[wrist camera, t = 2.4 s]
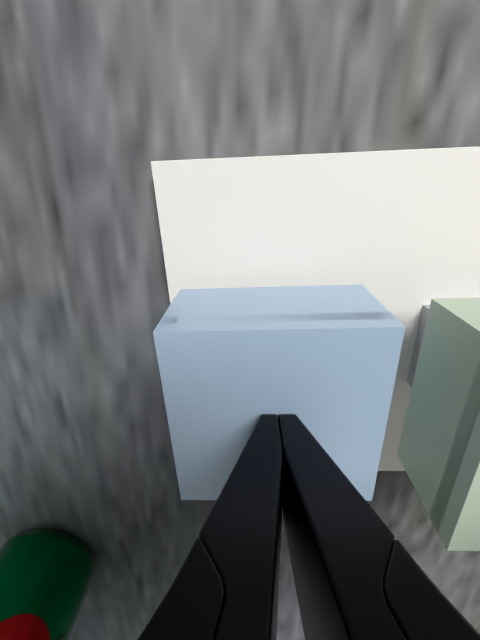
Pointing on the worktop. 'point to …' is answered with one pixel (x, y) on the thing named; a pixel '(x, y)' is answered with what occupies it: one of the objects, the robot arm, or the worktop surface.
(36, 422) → the worktop surface
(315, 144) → the worktop surface
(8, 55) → the worktop surface
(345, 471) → the key blue
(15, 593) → the soda can
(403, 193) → the keypad
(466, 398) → the key sage
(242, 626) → the robot arm
